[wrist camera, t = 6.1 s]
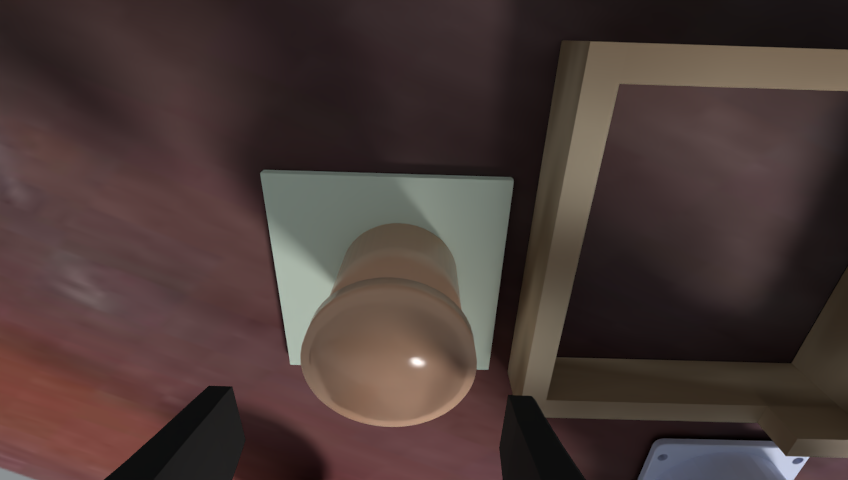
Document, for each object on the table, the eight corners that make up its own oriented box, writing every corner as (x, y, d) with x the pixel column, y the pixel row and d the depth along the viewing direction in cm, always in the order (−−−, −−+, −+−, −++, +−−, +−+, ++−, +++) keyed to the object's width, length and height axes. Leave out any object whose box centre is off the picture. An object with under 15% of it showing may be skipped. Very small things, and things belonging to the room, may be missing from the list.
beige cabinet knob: (457, 328, 17) (468, 429, 13) (338, 323, 17) (307, 423, 13) (469, 220, 15) (486, 297, 11) (331, 213, 15) (291, 289, 11)
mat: (487, 363, 19) (488, 369, 18) (292, 358, 19) (290, 364, 18) (512, 177, 15) (514, 180, 14) (263, 169, 15) (259, 173, 14)
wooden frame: (803, 379, 19) (917, 484, 15) (507, 372, 19) (532, 475, 15) (1002, 54, 13) (1308, 64, 8) (561, 40, 13) (634, 43, 8)
